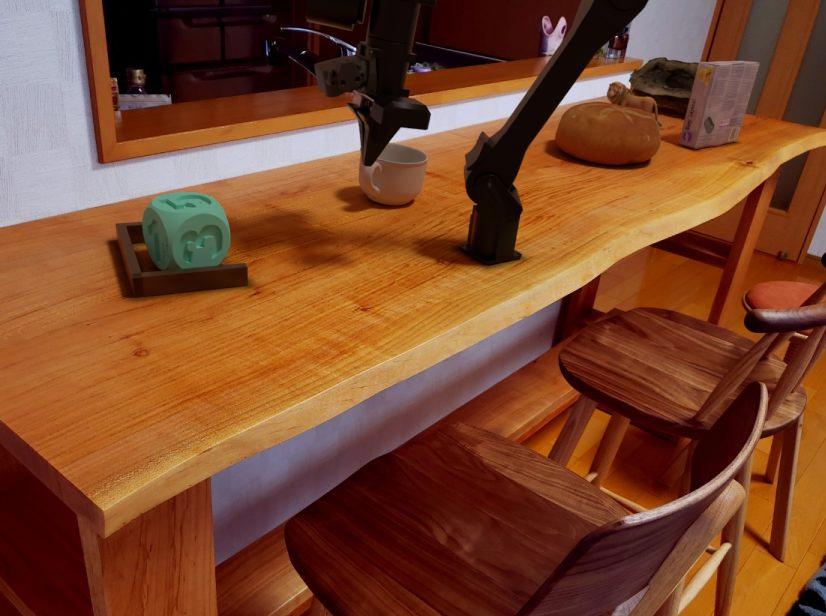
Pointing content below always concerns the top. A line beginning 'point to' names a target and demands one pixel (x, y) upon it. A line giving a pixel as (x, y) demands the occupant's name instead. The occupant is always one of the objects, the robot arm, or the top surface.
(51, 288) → the top surface
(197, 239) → the decorative dice
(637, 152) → the bread
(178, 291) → the walnut frame
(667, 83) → the hollow geode rock
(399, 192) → the teacup
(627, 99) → the lion figurine
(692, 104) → the cake pan box
